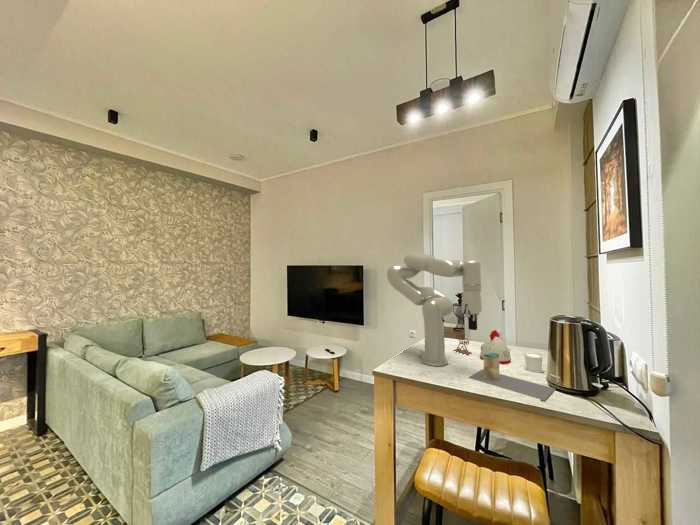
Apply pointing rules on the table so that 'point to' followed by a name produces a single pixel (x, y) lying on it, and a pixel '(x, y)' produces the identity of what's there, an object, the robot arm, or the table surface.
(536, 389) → the mat
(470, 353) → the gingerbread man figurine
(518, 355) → the table surface
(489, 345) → the white red winter hat
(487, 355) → the spice jar
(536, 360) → the white round tub
